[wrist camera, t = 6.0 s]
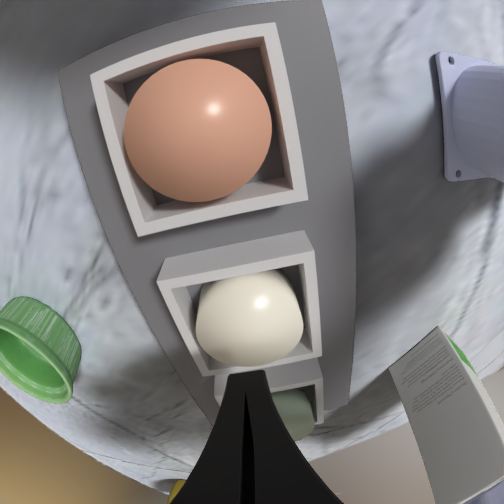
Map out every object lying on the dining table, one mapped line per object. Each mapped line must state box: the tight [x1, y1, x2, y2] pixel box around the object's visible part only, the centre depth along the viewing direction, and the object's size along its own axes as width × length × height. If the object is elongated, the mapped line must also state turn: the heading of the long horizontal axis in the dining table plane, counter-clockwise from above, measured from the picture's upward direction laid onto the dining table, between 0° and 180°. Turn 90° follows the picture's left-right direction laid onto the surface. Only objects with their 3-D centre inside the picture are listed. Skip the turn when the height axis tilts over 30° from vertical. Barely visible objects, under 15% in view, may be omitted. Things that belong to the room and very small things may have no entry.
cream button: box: [196, 268, 303, 367], centre depth 14 cm, size 5×5×2 cm
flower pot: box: [167, 480, 186, 504], centre depth 34 cm, size 9×9×9 cm
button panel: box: [58, 0, 356, 426], centre depth 15 cm, size 12×28×4 cm, turn 11°
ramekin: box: [0, 297, 81, 404], centre depth 17 cm, size 9×9×4 cm
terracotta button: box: [124, 59, 272, 202], centre depth 10 cm, size 5×5×2 cm
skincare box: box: [388, 326, 504, 504], centre depth 16 cm, size 8×7×16 cm
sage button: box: [271, 388, 315, 442], centre depth 18 cm, size 5×5×2 cm
